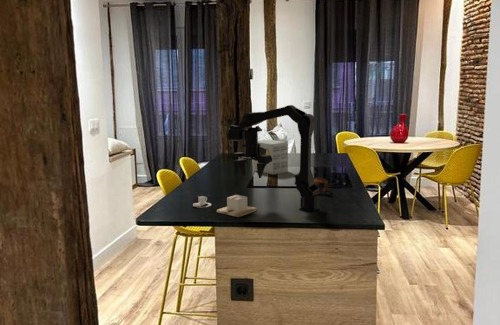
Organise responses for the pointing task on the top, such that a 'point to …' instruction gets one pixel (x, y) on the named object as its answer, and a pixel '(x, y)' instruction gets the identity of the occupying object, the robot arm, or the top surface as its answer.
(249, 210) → the board
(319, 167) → the top surface
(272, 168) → the supplement box
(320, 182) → the pottery mug
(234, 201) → the small white box
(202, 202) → the white ring with cylinder
